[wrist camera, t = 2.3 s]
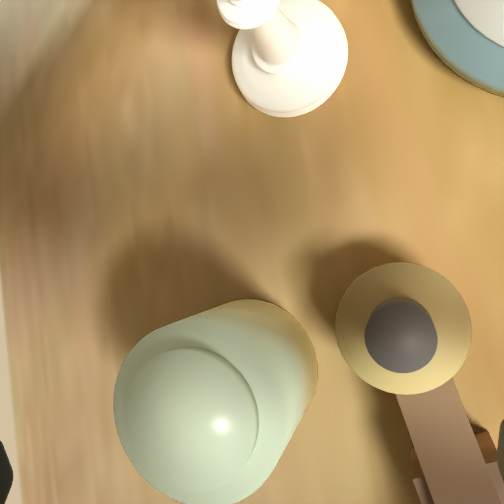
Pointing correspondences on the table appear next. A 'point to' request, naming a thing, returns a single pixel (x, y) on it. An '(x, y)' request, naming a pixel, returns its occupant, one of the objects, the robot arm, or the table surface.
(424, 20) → the dish
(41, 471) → the table surface
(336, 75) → the chess piece
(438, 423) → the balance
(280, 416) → the sage cup
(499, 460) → the robot arm
